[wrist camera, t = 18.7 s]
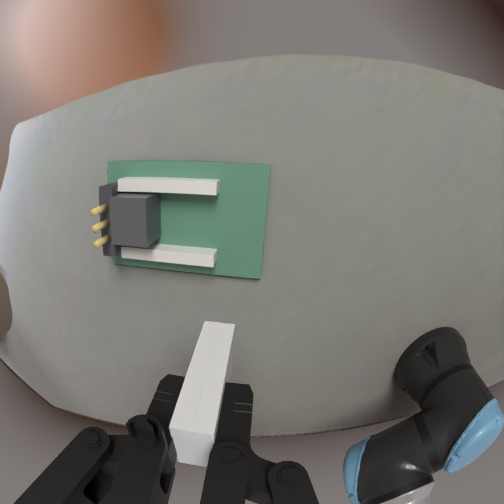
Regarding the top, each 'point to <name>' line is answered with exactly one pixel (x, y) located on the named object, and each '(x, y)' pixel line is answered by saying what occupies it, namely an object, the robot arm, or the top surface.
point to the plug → (135, 218)
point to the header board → (193, 215)
